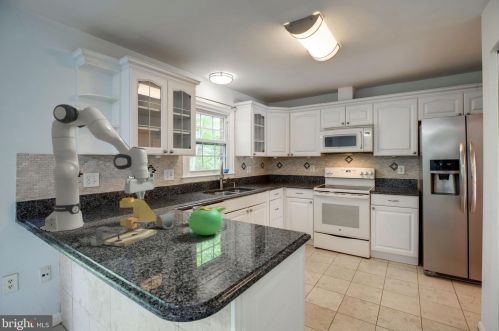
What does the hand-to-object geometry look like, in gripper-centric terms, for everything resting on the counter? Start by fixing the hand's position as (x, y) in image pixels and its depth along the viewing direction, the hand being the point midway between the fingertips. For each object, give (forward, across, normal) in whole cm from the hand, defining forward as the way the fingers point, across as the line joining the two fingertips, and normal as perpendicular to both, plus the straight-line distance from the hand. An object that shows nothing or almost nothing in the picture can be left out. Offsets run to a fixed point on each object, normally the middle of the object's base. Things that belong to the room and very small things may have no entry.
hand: (140, 199), depth 140 cm
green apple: (+18, 0, -42) cm, 45 cm away
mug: (+18, +18, -26) cm, 36 cm away
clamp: (+17, +11, +13) cm, 24 cm away
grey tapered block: (+17, -17, -4) cm, 24 cm away
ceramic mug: (+17, +6, -12) cm, 22 cm away
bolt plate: (+17, -16, -8) cm, 25 cm away
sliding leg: (+14, -7, -4) cm, 17 cm away
